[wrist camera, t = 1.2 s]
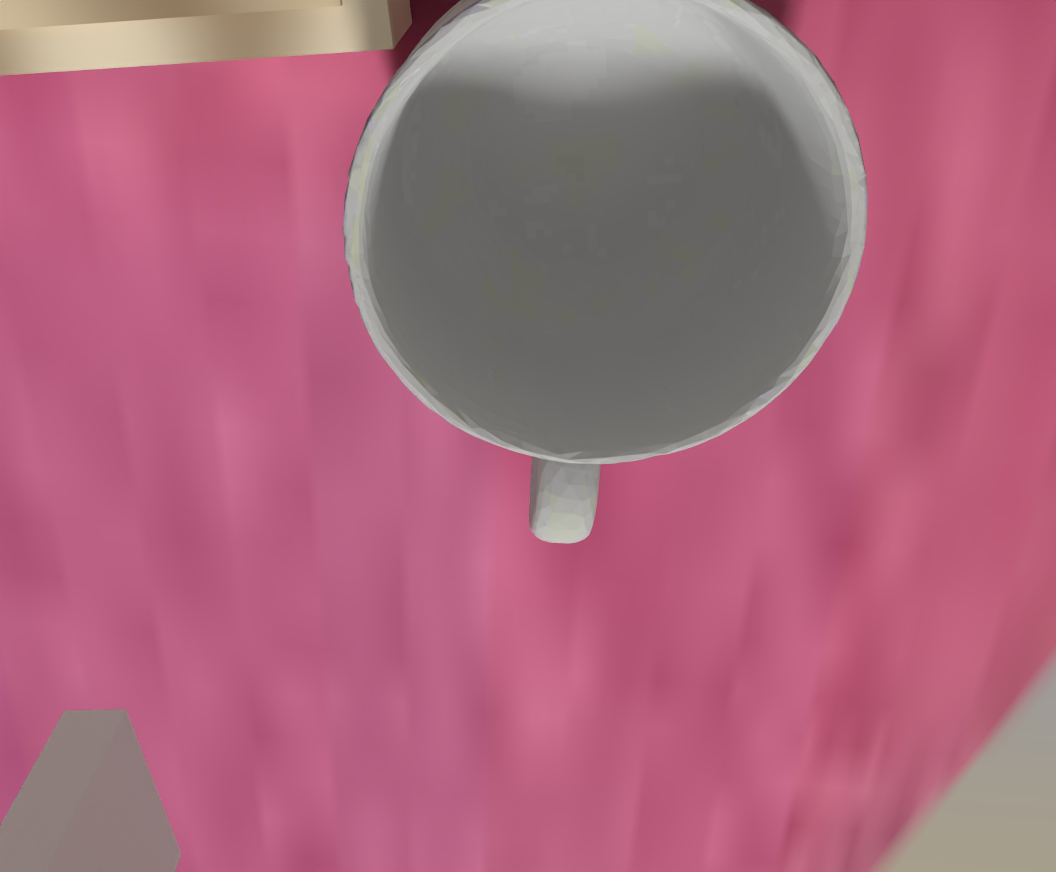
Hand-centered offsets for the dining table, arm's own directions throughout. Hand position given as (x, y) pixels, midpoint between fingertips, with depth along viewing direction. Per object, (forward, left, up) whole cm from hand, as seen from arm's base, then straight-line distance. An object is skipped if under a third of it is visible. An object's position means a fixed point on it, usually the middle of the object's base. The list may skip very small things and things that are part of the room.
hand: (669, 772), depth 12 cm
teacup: (-1, +1, -19) cm, 19 cm away
